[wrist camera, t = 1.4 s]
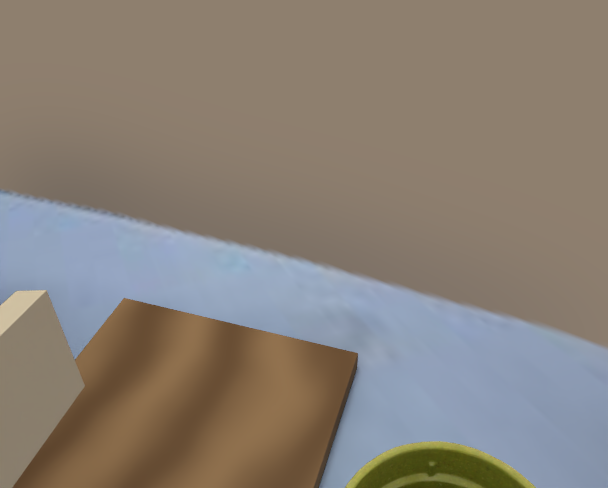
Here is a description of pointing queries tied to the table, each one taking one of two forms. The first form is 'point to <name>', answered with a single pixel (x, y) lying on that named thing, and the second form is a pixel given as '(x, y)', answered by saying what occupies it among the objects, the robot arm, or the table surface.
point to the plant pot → (437, 469)
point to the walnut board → (195, 407)
